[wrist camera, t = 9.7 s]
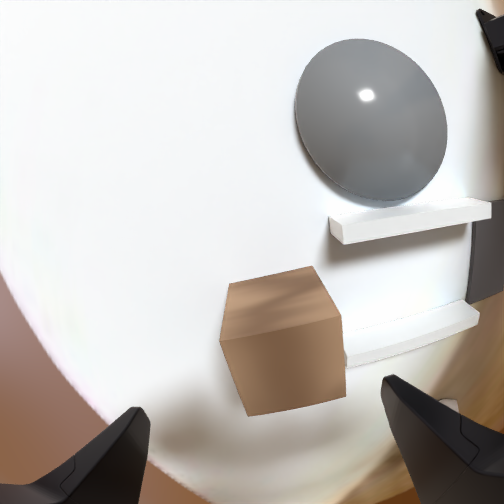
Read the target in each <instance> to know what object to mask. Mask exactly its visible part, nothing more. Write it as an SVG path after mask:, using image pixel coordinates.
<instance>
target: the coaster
mask: <svg viewBox="0 0 504 504" xmlns="http://www.w3.org/2000/svg"><path fill="white" fill-rule="evenodd" d="M295 115H296V122H297V126H298V130H299V134H300V136H301V139H302V141H303V144H304V146H305V148H306V150H307V151H308V153H309V155H310V156H311V158H312V159H313V161H314V162H315V164H316V165H317V166H318V167H319V168H320V170H321V171H322V172H323V173H324V174H325V175H326V176H327V177H329V178H330V179H331V180H332V181H333V182H335V183H336V184H337V185H339V186H340V187H342V188H344V189H345V190H347V191H349V192H351V193H354V194H356V195H359V196H361V197H365V198H369V199H373V200H382V201H390V200H398V199H403V198H406V197H408V196H411V195H413V194H415V193H416V192H418V191H420V190H421V189H422V188H424V187H425V186H426V185H427V184H428V183H429V182H430V181H431V180H432V179H433V177H434V176H435V174H436V173H437V171H438V169H439V167H440V165H441V163H442V161H443V158H444V155H445V150H446V145H447V122H446V116H445V111H444V107H443V104H442V102H441V99H440V97H439V94H438V92H437V90H436V88H435V87H434V85H433V83H432V82H431V80H430V79H429V77H428V76H427V75H426V73H425V72H424V71H423V70H422V69H421V68H420V67H419V66H418V65H417V64H416V63H415V62H414V61H413V60H412V59H411V58H409V57H408V56H407V55H405V54H404V53H402V52H401V51H399V50H397V49H395V48H394V47H392V46H389V45H387V44H384V43H381V42H378V41H374V40H368V39H349V40H343V41H339V42H336V43H334V44H331V45H329V46H327V47H326V48H324V49H323V50H321V51H320V52H318V53H317V54H316V55H315V56H314V57H313V58H312V59H311V61H310V62H309V64H308V65H307V66H306V68H305V70H304V72H303V74H302V76H301V78H300V80H299V83H298V86H297V90H296V96H295Z"/></svg>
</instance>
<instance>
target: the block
mask: <svg viewBox="0 0 504 504" xmlns="http://www.w3.org/2000/svg"><path fill="white" fill-rule="evenodd" d="M219 342H220V345H221V347H222V350H223V353H224V356H225V358H226V361H227V364H228V366H229V369H230V372H231V374H232V377H233V380H234V382H235V385H236V388H237V390H238V393H239V395H240V398H241V400H242V403H243V405H244V408H245V410H246V413H247V415H248V417H249V416H256V415H263V414H269V413H275V412H281V411H286V410H291V409H296V408H301V407H306V406H310V405H315V404H319V403H323V402H327V401H331V400H335V399H339V398H342V397H346V380H345V360H344V345H343V331H342V320H341V314H340V312H339V311H338V309H337V307H336V305H335V304H334V302H333V300H332V298H331V297H330V295H329V293H328V292H327V290H326V288H325V286H324V285H323V283H322V281H321V280H320V278H319V276H318V275H317V273H316V271H315V270H314V268H313V266H308V267H304V268H300V269H295V270H291V271H286V272H282V273H277V274H273V275H268V276H264V277H259V278H254V279H250V280H245V281H240V282H236V283H231V284H229V288H228V294H227V300H226V305H225V311H224V317H223V322H222V328H221V334H220V340H219Z"/></svg>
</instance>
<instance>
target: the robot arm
mask: <svg viewBox="0 0 504 504" xmlns="http://www.w3.org/2000/svg"><path fill="white" fill-rule="evenodd" d="M476 12H477V15H478V17H479V19H480V21H481V24H482V26H483V28H484V31H485V33H486V36H487V38H488V41H489V43H490V46H491V49H492V52H493V54H494V57H495V60H496V64H497V67H498V69H499V71H500V72H501V73H502V74H504V15H501V16H499V17H495V16H494V15H492V14H490V13H488V12H486V11H484V10H482V9H478V10H476ZM381 399H382V402H383V405H384V408H385V412H386V415H387V418H388V422H389V425H390V428H391V431H392V434H393V436H394V438H395V440H396V443H397V445H398V447H399V450H400V452H401V455H402V457H403V459H404V462H405V464H406V467H407V469H408V471H409V474H410V476H411V479H412V481H413V484H414V486H415V489H416V491H417V494H418V497H419V499H420V502H421V504H504V434H502V433H500V432H497V431H494V430H492V429H489V428H487V427H485V426H483V425H480V424H478V423H476V422H474V421H472V420H471V419H469V418H467V417H465V416H463V415H461V414H460V413H458V412H456V411H455V410H453V409H451V408H450V407H448V406H446V405H444V404H443V403H441V402H439V401H438V400H436V399H434V398H433V397H431V396H429V395H427V394H426V393H424V392H422V391H421V390H419V389H417V388H416V387H414V386H413V385H411V384H409V383H408V382H406V381H404V380H403V379H401V378H399V377H398V376H396V375H394V374H392V375H389V376H385V377H384V378H383V380H382V387H381ZM149 435H150V420H149V418H148V417H147V415H146V413H145V412H144V410H143V409H142V408H141V407H131V408H129V409H128V410H127V411H126V412H125V413H123V414H122V415H121V416H120V417H119V418H118V419H116V420H115V421H114V422H113V423H112V424H111V425H109V426H108V427H107V428H106V429H105V430H104V431H102V432H101V433H100V434H99V435H98V436H97V437H95V438H94V439H93V440H92V441H90V442H89V443H88V444H87V445H85V446H84V447H83V448H82V449H81V450H79V451H78V452H77V453H76V454H75V455H73V456H72V457H71V458H69V459H68V460H67V461H66V462H64V463H63V464H62V465H60V466H59V467H57V468H56V469H54V470H53V471H51V472H50V473H48V474H46V475H45V476H43V477H41V478H40V479H38V480H37V481H35V482H33V483H30V484H26V485H13V484H0V504H138V502H139V497H140V491H141V485H142V481H143V475H144V470H145V466H146V461H147V455H148V446H149Z"/></svg>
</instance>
